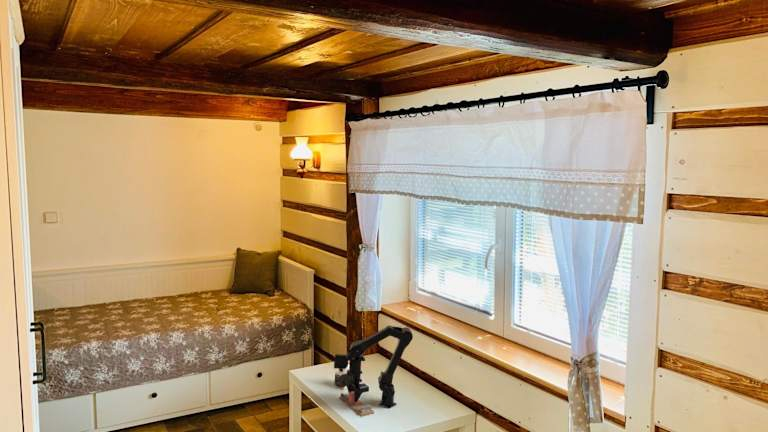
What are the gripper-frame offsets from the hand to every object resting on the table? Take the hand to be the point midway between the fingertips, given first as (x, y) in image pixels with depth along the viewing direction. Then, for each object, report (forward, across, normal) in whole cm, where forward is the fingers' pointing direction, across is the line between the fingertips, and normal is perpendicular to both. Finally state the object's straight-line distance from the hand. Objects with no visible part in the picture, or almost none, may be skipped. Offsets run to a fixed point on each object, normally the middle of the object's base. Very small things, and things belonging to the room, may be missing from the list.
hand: (353, 399), depth 272 cm
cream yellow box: (+2, -21, +6) cm, 22 cm away
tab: (+1, -3, 0) cm, 4 cm away
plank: (+2, +3, 0) cm, 3 cm away
